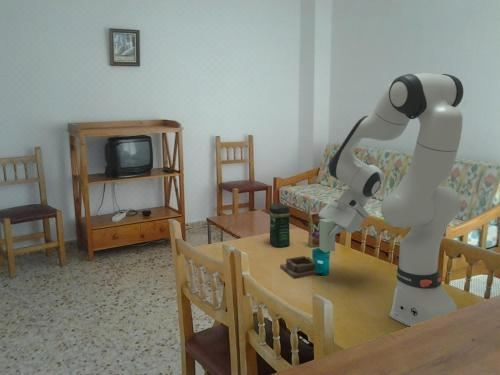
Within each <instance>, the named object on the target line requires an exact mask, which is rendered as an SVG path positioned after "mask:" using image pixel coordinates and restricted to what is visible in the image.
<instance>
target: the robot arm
mask: <svg viewBox="0 0 500 375" xmlns="http://www.w3.org/2000/svg"><path fill="white" fill-rule="evenodd" d="M463 96H464V86H463V83H462V80H460V79H459V78H458V77H456V76H454V75H451V74H447V73H443V74H439V73H431V72H420V73H414V74H413V73H407V74H403V75H400V76H398V77H396V78H394V80H393V81H391V82H390V83H389V84H388V85H387V86H386V87H385V89H384V91H383V92H382V94H381V96H380V97H379V99H378V101H377V103H376V106H375V107H374V109H373V111H372V113H371V114H370V115H363V117H361V118H359V119H358V121H357V122H356V123H355V125H354V126H353V127H352V129H351V130H350V131H349V133H348V134H347V136H346V137H345V139H344V140H343V142H342V143H341V145H340V147H339V148H338V149H337V151H336V152H335V154H334V155H333V156H332V157H331V159H330V160H329V162H328V165H327V167H328V171H329V175H330V176H331V177H333V178H334V179H336V180H338V181H341V182H342V183H343V184H345V185H346V186H348V188H347V189H345V190H344V192H343V193H341V195H340V196H339V197H338V199H334V200H331V201H329V202H328V203H327V204H326V205H325V206H324V207H323V208H322V209H321V210H320V211H318V212H319V215H318V216H319V217H320V218H321V219H328V218H330V219H332V220H334V221H335V222H334V223H335V229H333V230H332V231H329V233H328V236H329V237H331V238H333V237H334V236H335V237H336V235H337V234H340V233H342V232H341V231H345V232H347V233H349V234H354V233H355V232H356V231H357V230H358V229H359V228H360V227H361V225H362V224H363V222H364V220H365V219H367V218H368V217H369V213H368V211H367V210H366V209H365V206H366V205H367V204H368V201H369V200H370V199H371V198H372V197H373V196H374V195H376V193H378V190H379V189H380V188H381V185H382V184H383V181H384V180H385V173H384V172H383V171H382V170H381V169H380V168H379V167H378V166H377V165H374V164H367V163H365V162H364V161H362V160H360V159H359V158H357V157H356V156H355V154H354V151H355V149H356V148H357V146H358V145H359V143H360V142H361V141H362V139H371V140H376V141H381V142H382V141H383V142H384V141H385V142H387V141H388V142H389V141H392V140H395V139H397V138H399V137H400V136H402V135H403V133H404V131H405V130H406V128H407V126H408V124H409V122H410V120H415V119H418V121H419V131H418V134H417V139H416V143H415V146H414V150H413V154H412V158H411V161H410V164H409V167H408V169H407V171H406V173H405V175H404V176H403V178H402V179H401V181H400V182H399V183H398V185H396V187H395V188H394V189H393V190H392V191H391V192H390V193H388V194H387V195H385V197H383V199H382V202H381V206H380V212H381V215H382V218H383V219H384V221H385V223H386V224H387V225H389V227H390V226H391V227H394V228H411V229H410V230H409V232H408V233H407V234H406V235H405V236H404V237H403V238H402V239H401V241H400V243H399V255H398V257H399V258H398V265H397V267H396V279H397V283H396V285H395V286H396V287H395V289H394V295H393V299H392V300H393V301H392V305H391V307H390V308H391V310H390V312H389V318H391V319H393V320H395V321H398V322H400V323H402V324H403V325H406V327H409V326H411V325H414V324H417V323H420V322H423V321H426V320H429V319H432V318H435V317H438V316H441V315H445V314H448V313H451V312H454V311H457V310H458V306H457V304H456V302H455V300H454V298H453V297H451V296H450V295H449V293H448V292H447V291H446V290H445V288H444V286H442V282H444V281H445V280H444V279H445V277H444V276H443V277H441V275H440V271H439V269H438V267H439V265H438V264H439V257H440V256H439V255H440V254H439V253H440V247H441V243H442V240H443V237H444V235H445V232H446V231H447V228H448V226H449V225H450V223H451V222H452V221H453V219H454V218H456V217H457V216H458V215H459V213H460V211H461V207H462V202H461V201H462V200H461V197H460V195H459V193H458V192H457V191H456V190H455V189H454V188H452V187H447V186H440V185H441V184H443V182H445V181H447V180H448V178H449V177H450V176H451V174H452V172H453V169H454V164H455V162H456V161H455V160H456V158H457V154H458V151H459V146H460V143H461V138H462V130H463V122H464V120H463V118H464V117H463V114H462V112H461V111H460V110H459V109H458V108H457V107H458V106H459V105H460V103H461V102H462V100H463Z"/></svg>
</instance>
